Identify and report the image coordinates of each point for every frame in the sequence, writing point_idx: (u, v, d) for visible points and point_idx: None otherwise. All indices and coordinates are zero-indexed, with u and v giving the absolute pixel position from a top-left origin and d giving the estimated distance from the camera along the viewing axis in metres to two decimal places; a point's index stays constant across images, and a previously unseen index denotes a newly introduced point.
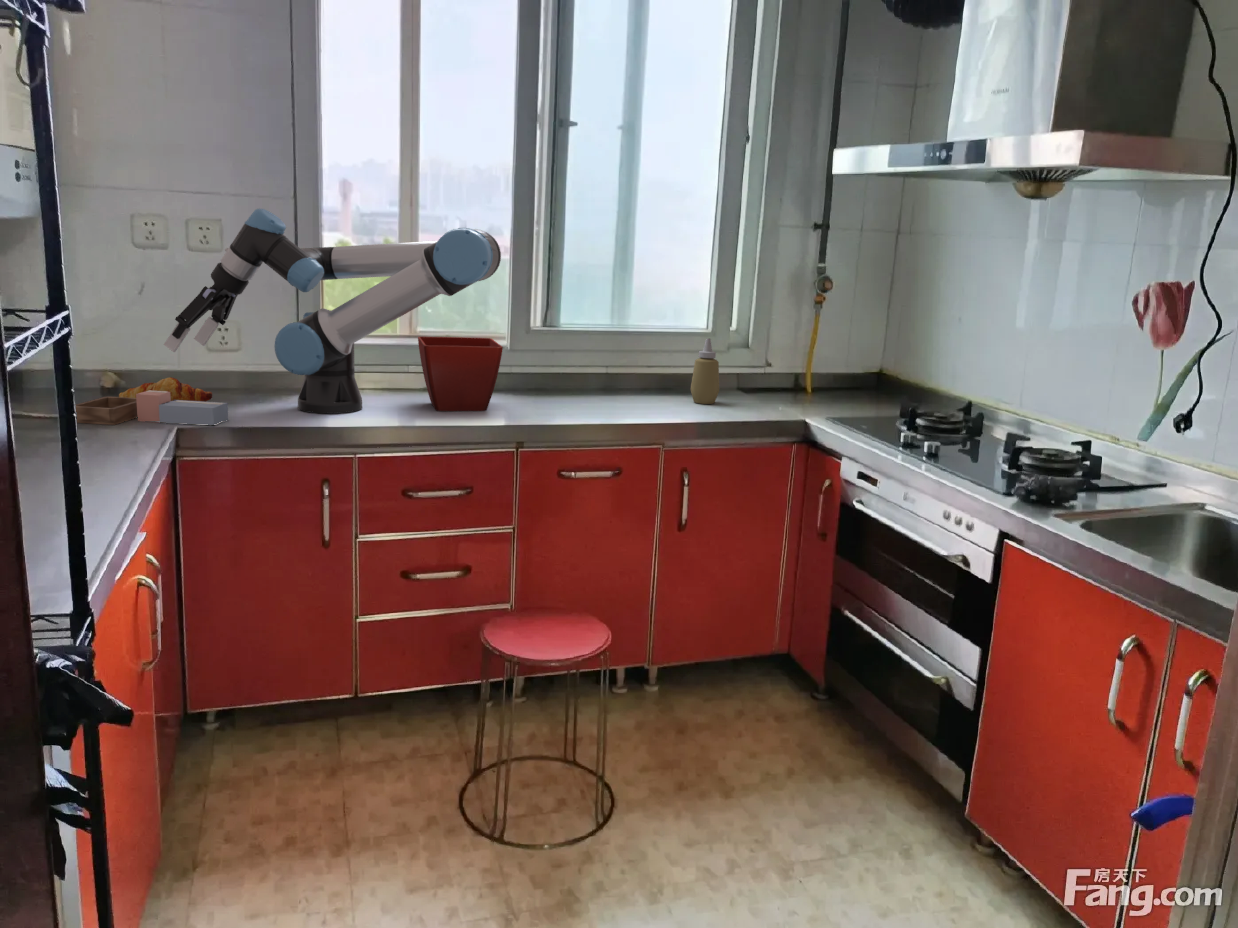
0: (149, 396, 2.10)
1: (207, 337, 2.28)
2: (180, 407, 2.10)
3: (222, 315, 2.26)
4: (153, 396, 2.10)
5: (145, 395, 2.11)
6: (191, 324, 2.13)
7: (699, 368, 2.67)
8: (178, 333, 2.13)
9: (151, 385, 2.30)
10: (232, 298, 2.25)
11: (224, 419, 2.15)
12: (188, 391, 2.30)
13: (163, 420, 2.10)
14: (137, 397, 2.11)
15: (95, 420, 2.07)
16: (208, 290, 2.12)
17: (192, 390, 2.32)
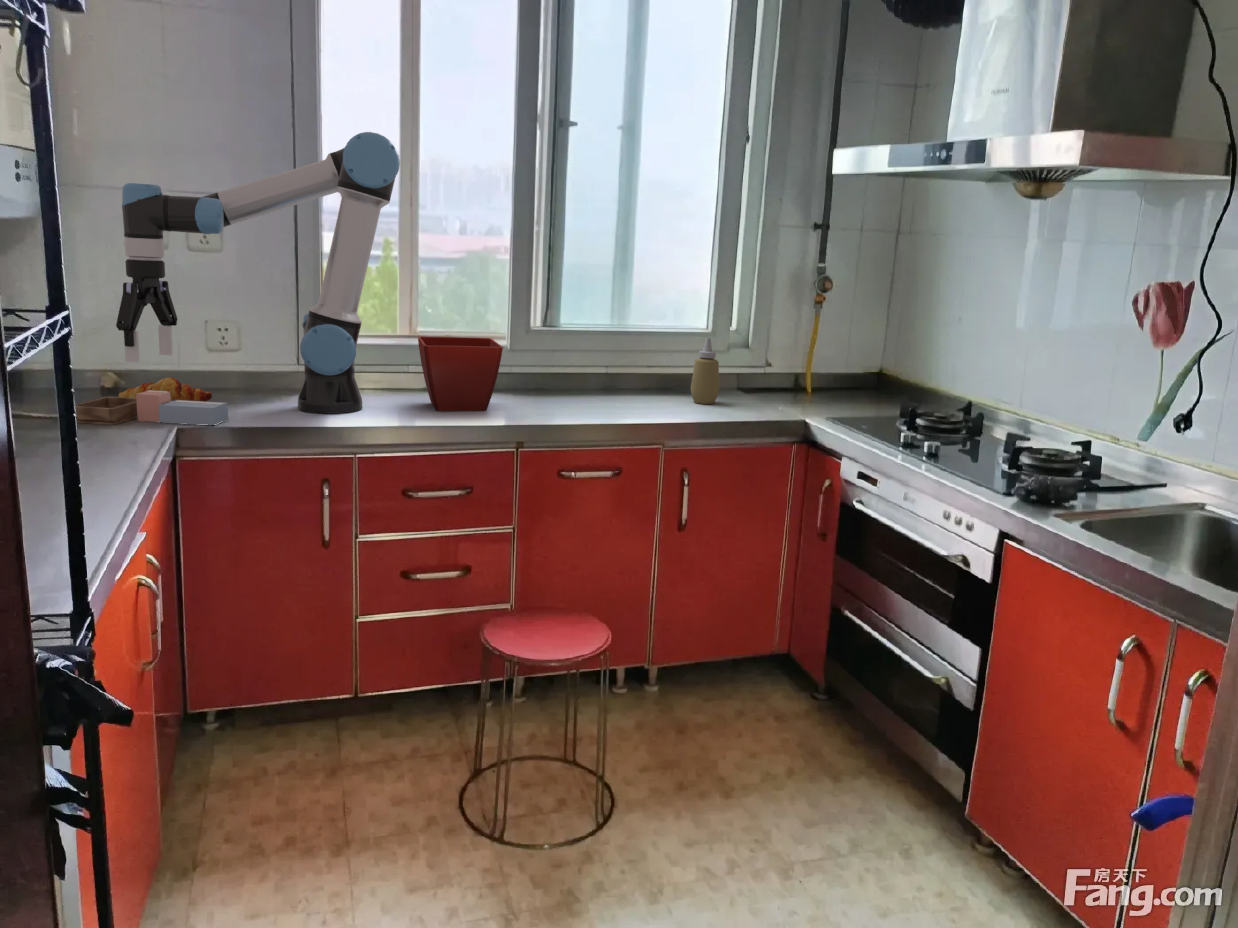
0: (149, 396, 2.10)
1: (169, 345, 2.17)
2: (180, 407, 2.10)
3: (167, 314, 2.15)
4: (153, 396, 2.10)
5: (145, 395, 2.11)
6: (135, 325, 2.02)
7: (699, 368, 2.67)
8: (129, 340, 2.02)
9: (151, 385, 2.30)
10: (165, 292, 2.14)
11: (224, 419, 2.15)
12: (187, 391, 2.30)
13: (163, 420, 2.10)
14: (137, 397, 2.11)
15: (95, 420, 2.07)
16: (128, 284, 2.01)
17: (192, 390, 2.32)
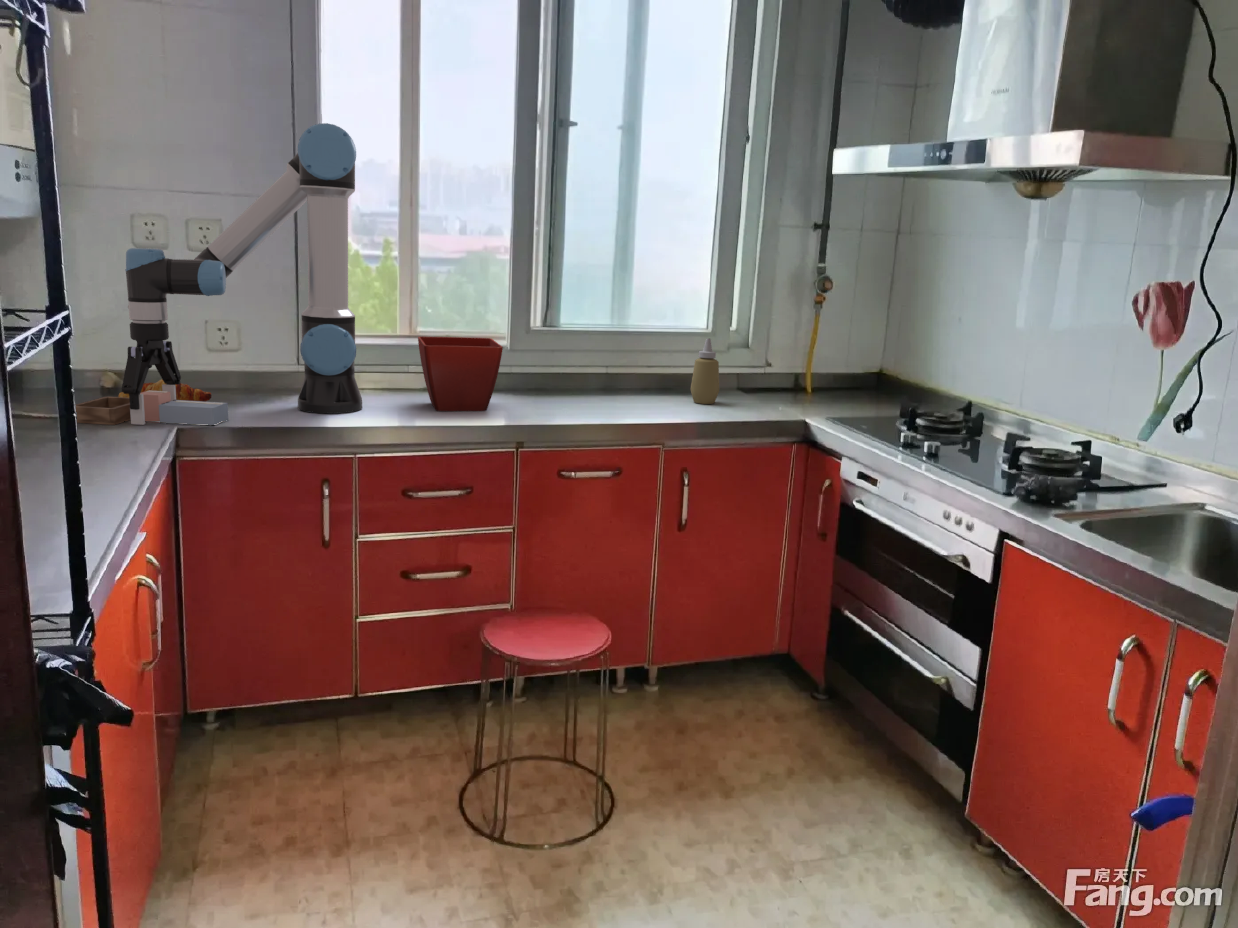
0: (149, 396, 2.10)
1: None
2: (180, 407, 2.10)
3: (171, 374, 2.18)
4: (153, 396, 2.10)
5: (145, 395, 2.11)
6: (140, 388, 2.05)
7: (699, 368, 2.67)
8: (134, 403, 2.05)
9: (150, 385, 2.30)
10: (169, 352, 2.17)
11: (224, 419, 2.15)
12: (186, 392, 2.30)
13: (163, 420, 2.10)
14: None
15: (95, 420, 2.07)
16: (133, 348, 2.04)
17: (191, 390, 2.31)
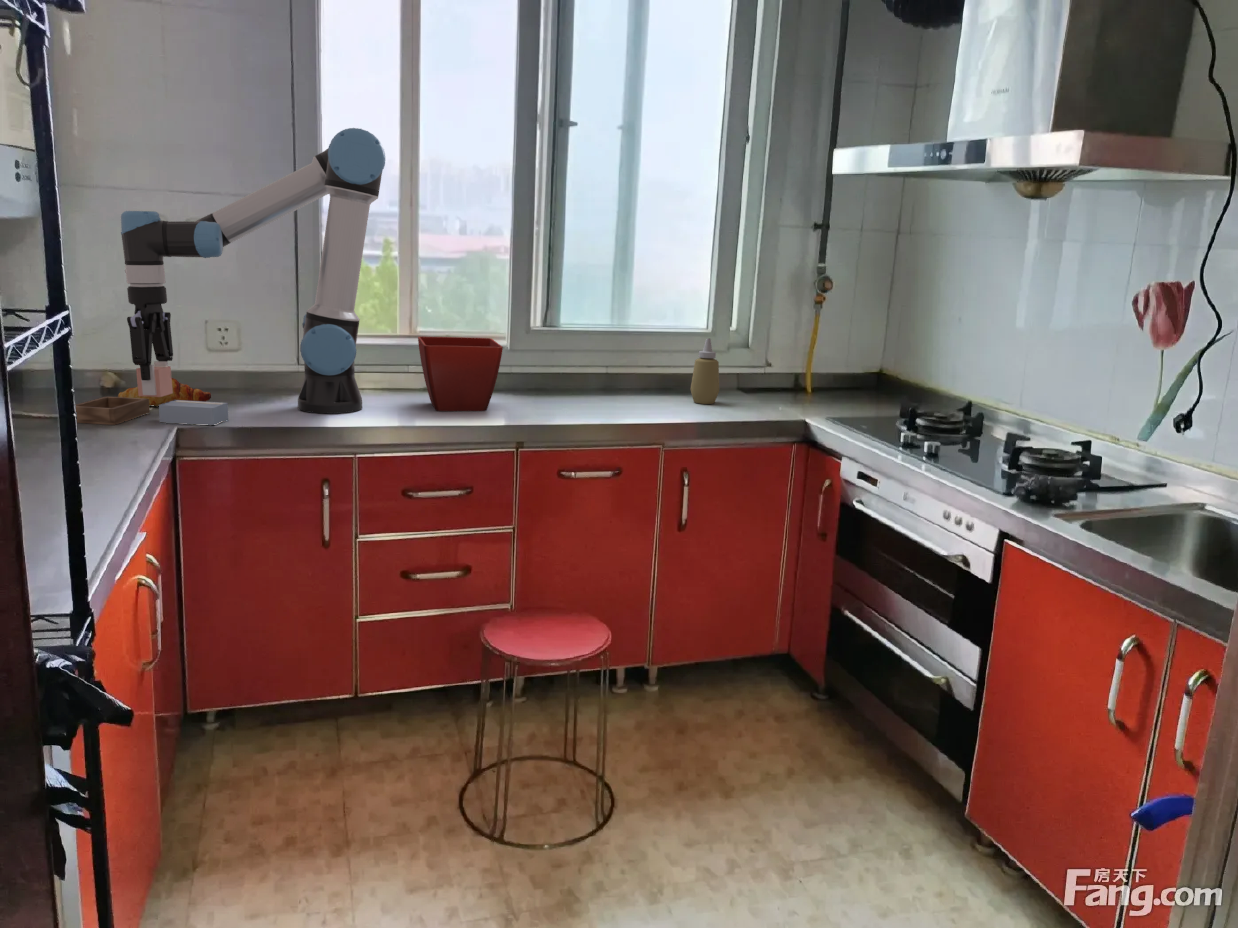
0: None
1: None
2: (180, 407, 2.10)
3: (165, 347, 2.14)
4: None
5: None
6: (149, 358, 2.08)
7: (699, 368, 2.67)
8: (145, 374, 2.08)
9: None
10: (166, 322, 2.14)
11: (224, 419, 2.15)
12: (186, 392, 2.30)
13: (163, 420, 2.10)
14: (137, 372, 2.10)
15: (95, 420, 2.07)
16: (132, 319, 2.03)
17: (191, 390, 2.31)
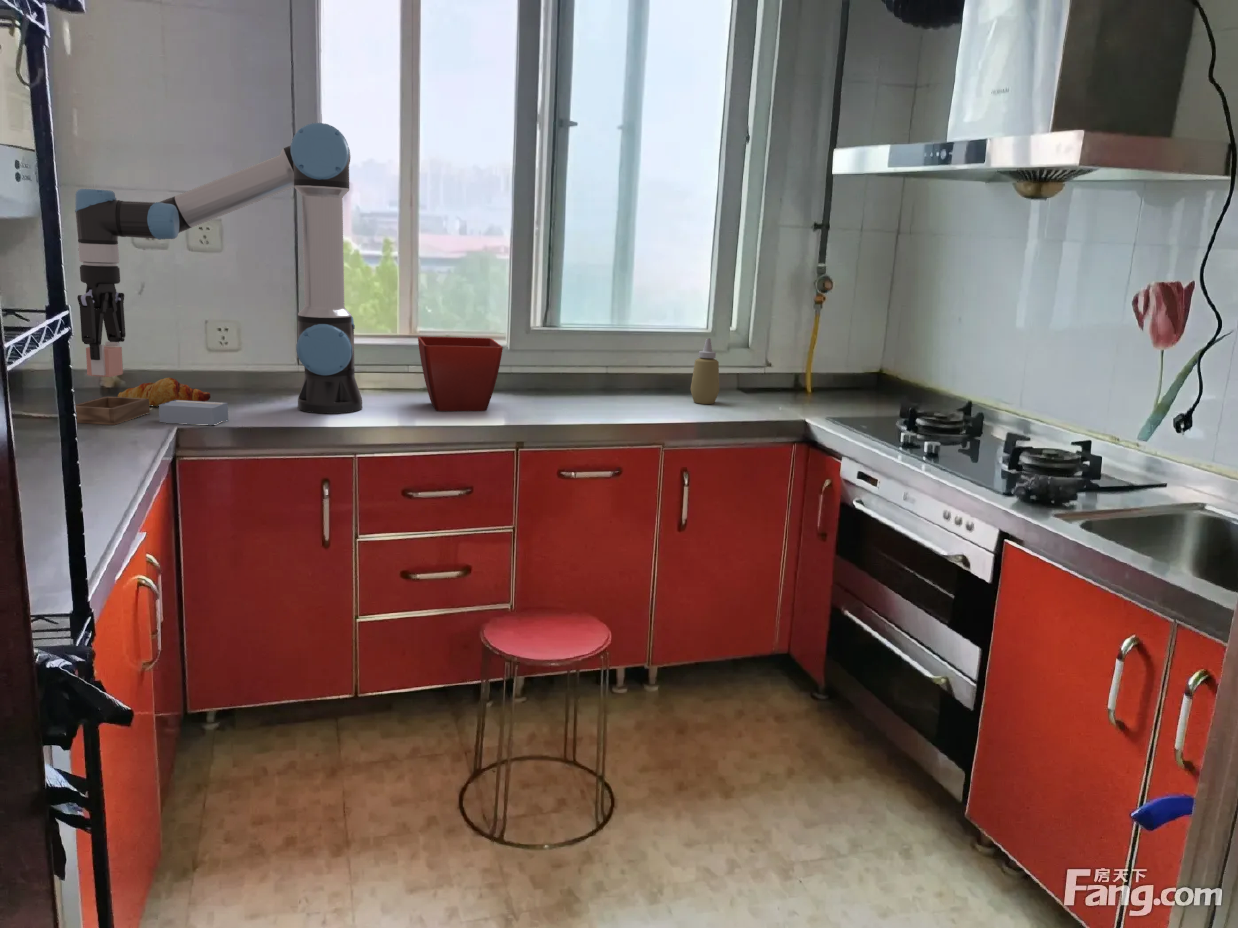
0: None
1: None
2: (180, 407, 2.10)
3: (117, 328, 2.12)
4: None
5: None
6: (100, 338, 2.06)
7: (699, 368, 2.67)
8: (95, 354, 2.06)
9: (149, 385, 2.30)
10: (119, 303, 2.13)
11: (224, 419, 2.15)
12: (185, 392, 2.30)
13: (163, 420, 2.10)
14: (87, 351, 2.08)
15: (95, 420, 2.07)
16: (82, 297, 2.01)
17: (190, 390, 2.31)
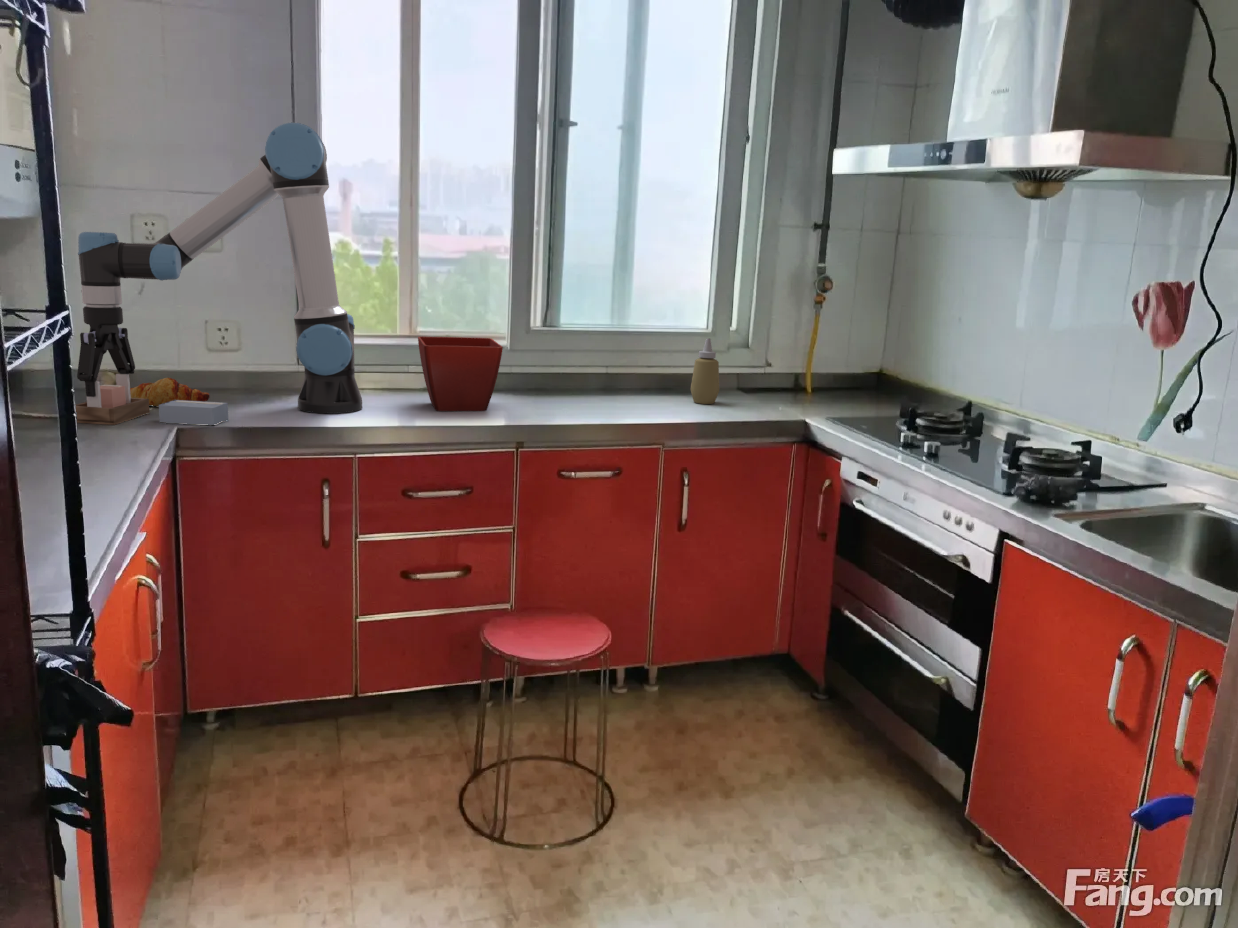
0: (102, 390, 2.10)
1: (127, 393, 2.18)
2: (180, 407, 2.10)
3: (125, 362, 2.16)
4: (106, 390, 2.10)
5: None
6: (96, 375, 2.05)
7: (699, 368, 2.67)
8: (90, 390, 2.05)
9: (149, 385, 2.30)
10: (124, 339, 2.15)
11: (224, 419, 2.15)
12: (184, 392, 2.29)
13: (163, 420, 2.10)
14: None
15: (95, 420, 2.07)
16: (85, 334, 2.03)
17: (189, 391, 2.31)
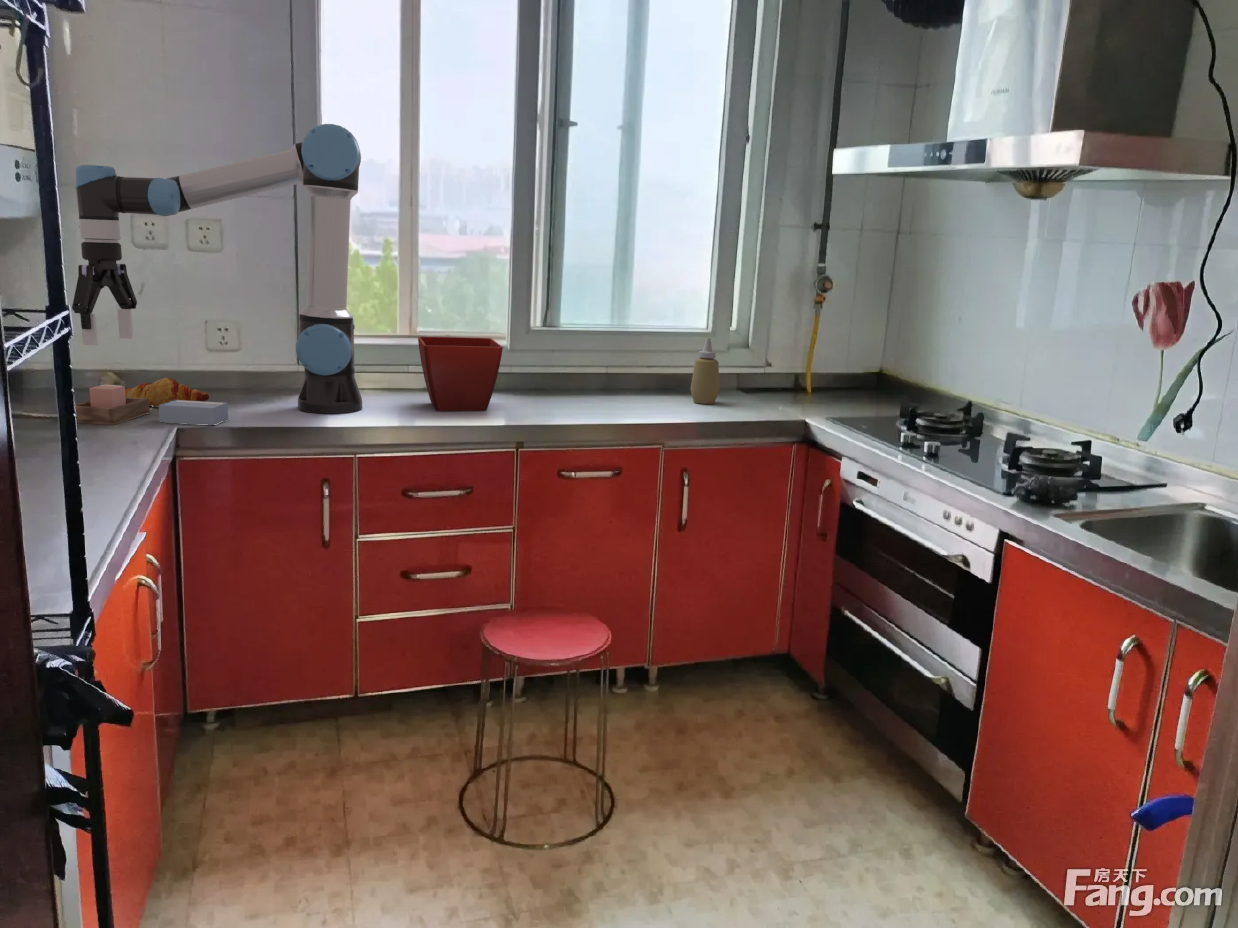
0: (102, 390, 2.10)
1: (129, 328, 2.16)
2: (180, 407, 2.10)
3: (126, 298, 2.14)
4: (106, 390, 2.10)
5: (98, 389, 2.10)
6: (91, 308, 2.02)
7: (699, 368, 2.67)
8: (86, 323, 2.01)
9: (148, 385, 2.30)
10: (123, 275, 2.13)
11: (224, 419, 2.15)
12: (183, 392, 2.29)
13: (163, 420, 2.10)
14: (90, 391, 2.10)
15: (95, 420, 2.07)
16: (84, 266, 2.00)
17: (188, 391, 2.31)
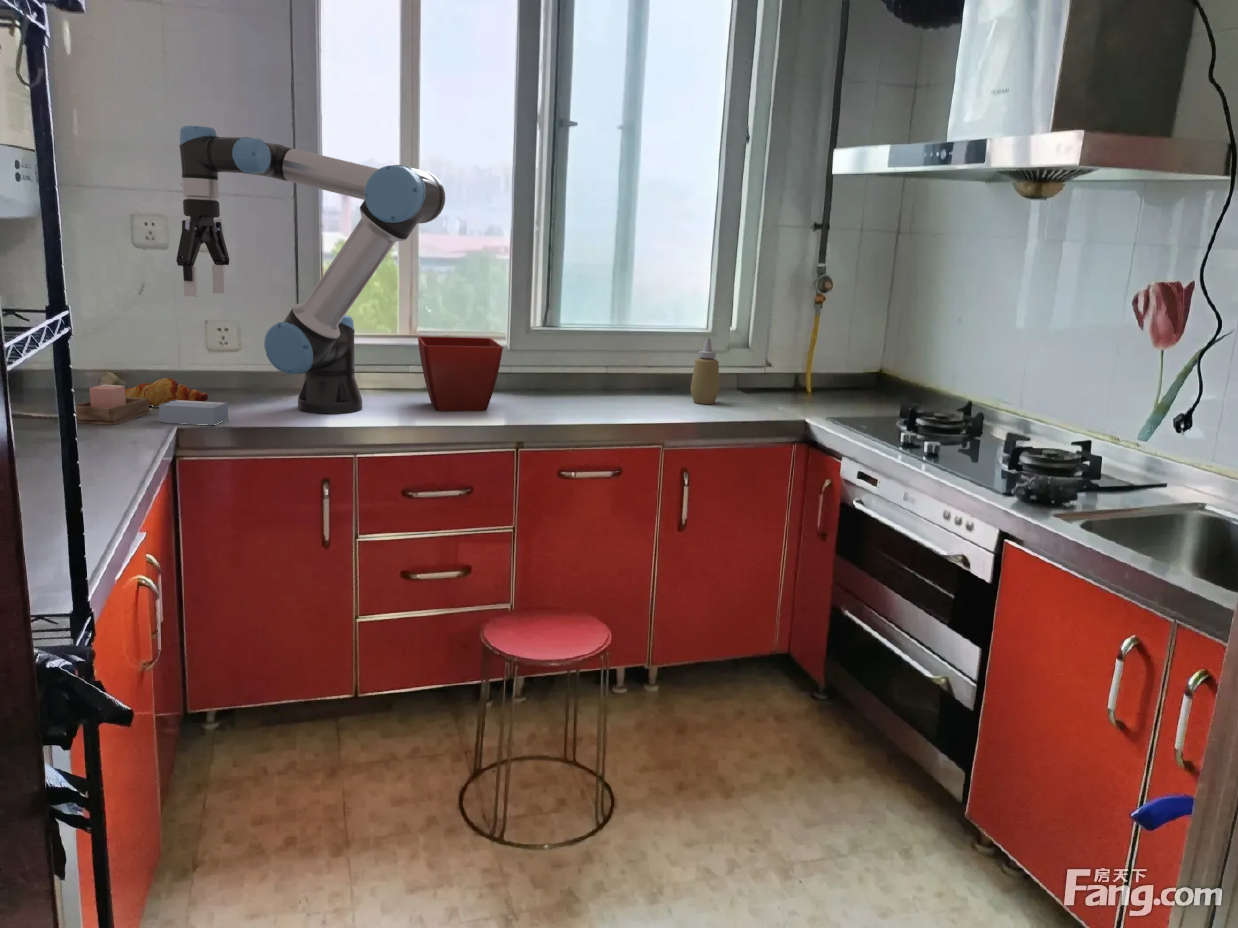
0: (102, 390, 2.10)
1: (222, 283, 2.28)
2: (180, 407, 2.10)
3: (221, 254, 2.26)
4: (106, 390, 2.10)
5: (98, 389, 2.10)
6: (193, 261, 2.14)
7: (699, 368, 2.67)
8: (188, 275, 2.13)
9: (148, 385, 2.29)
10: (218, 233, 2.25)
11: (224, 419, 2.15)
12: (182, 392, 2.29)
13: (163, 420, 2.10)
14: (90, 391, 2.10)
15: (95, 420, 2.07)
16: (187, 221, 2.12)
17: (187, 391, 2.30)
